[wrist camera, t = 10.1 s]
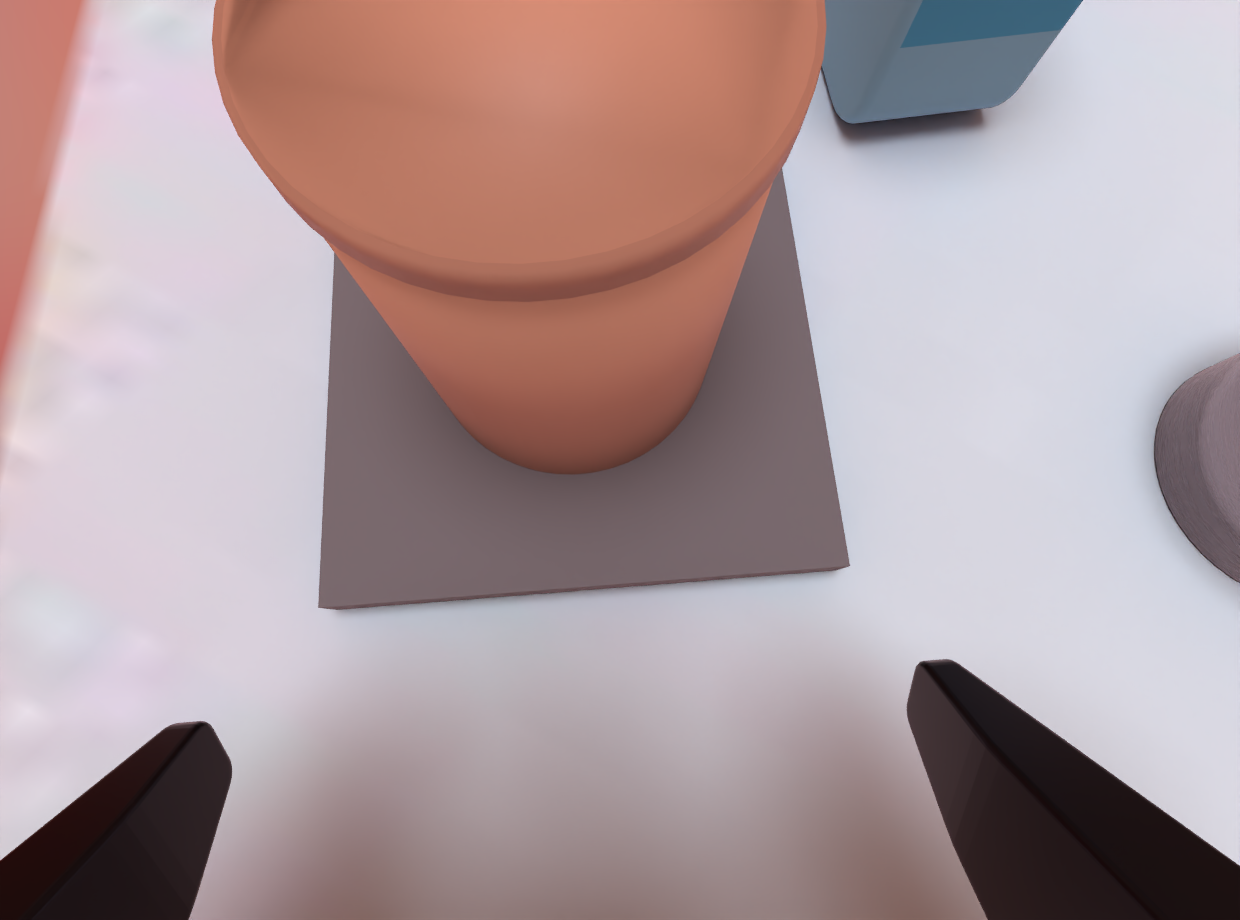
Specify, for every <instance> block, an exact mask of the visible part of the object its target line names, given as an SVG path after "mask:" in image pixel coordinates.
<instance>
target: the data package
mask: <svg viewBox="0 0 1240 920" xmlns="http://www.w3.org/2000/svg"><path fill="white" fill-rule="evenodd" d="M1082 1H1083V0H825V12H826V37H825V47H824V57H823V62H822V68H823V72H824V75H825V79H826V82H827V86H828V90H829V93H830V97H831V100H832V103H833V106H834V109H835V111H836V112H837V114H838V116H839V117H840V118H841V119H842V120H844V121H845V122H847V123H852V124H854V123H863V122H871V121H880V120H888V119H897V118H906V117H914V116H923V115H931V114H940V113H948V112H957V111H965V110H974V109H983V108H991V107H994V106H997V105H999V104H1001V103H1003V102H1005V101H1006V100H1007V99H1009V98H1010V97H1011V96H1012V95H1013V94H1014V93H1015V92H1016V91H1017V90H1018V88H1019V87H1020V86H1021V85H1022V83H1023V82H1024V81H1025V79H1026V78H1027V77H1028V75H1029V74H1030V72H1031V71H1032V70H1033V68H1034V67H1035V66H1036V64H1037V63H1038V61H1039V60H1040V59H1041V57H1042V56H1043V54H1044V53H1045V52H1046V50H1047V49H1048V48H1049V46H1050V45H1051V43H1052V42H1053V41H1054V39H1055V38H1056V37H1057V35H1058V34H1059V32H1060V31H1061V30H1062V28H1063V27H1064V26H1065V24H1066V23H1067V21H1068V20H1069V19H1070V17H1071V16H1072V15H1073V13H1074V12H1075V10H1076V9H1077V8H1078V6H1079V5H1080V4H1081V2H1082Z"/></svg>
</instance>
